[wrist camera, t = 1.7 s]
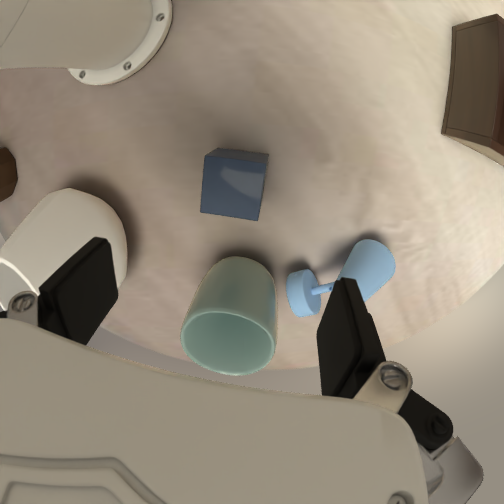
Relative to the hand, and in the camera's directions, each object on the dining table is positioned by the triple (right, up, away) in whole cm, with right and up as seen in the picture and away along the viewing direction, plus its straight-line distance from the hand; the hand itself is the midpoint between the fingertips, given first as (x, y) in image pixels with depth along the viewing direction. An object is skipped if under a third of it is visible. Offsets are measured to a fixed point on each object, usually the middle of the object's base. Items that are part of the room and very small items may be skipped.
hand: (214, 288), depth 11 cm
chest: (+28, +17, +6) cm, 33 cm away
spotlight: (+12, 0, +17) cm, 21 cm away
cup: (0, -1, +19) cm, 19 cm away
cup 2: (-17, +4, +18) cm, 25 cm away
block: (0, +8, +14) cm, 16 cm away
